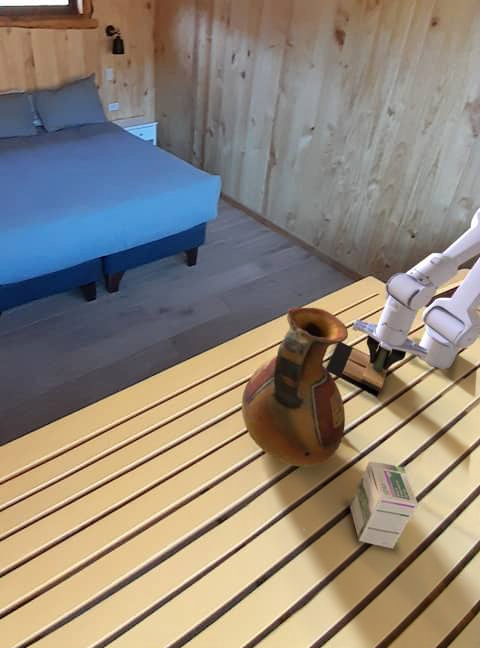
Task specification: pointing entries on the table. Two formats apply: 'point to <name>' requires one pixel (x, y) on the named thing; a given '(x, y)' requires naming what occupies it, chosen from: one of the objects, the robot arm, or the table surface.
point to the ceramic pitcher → (298, 393)
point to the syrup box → (382, 504)
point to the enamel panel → (339, 363)
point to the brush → (376, 370)
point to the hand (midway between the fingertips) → (378, 363)
